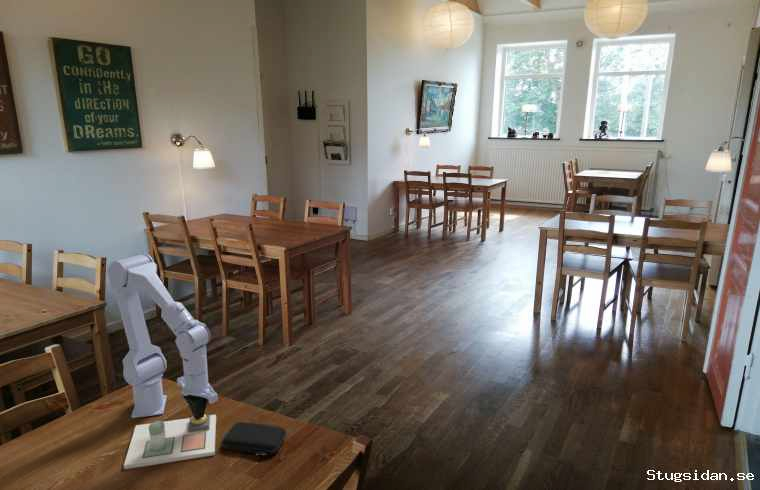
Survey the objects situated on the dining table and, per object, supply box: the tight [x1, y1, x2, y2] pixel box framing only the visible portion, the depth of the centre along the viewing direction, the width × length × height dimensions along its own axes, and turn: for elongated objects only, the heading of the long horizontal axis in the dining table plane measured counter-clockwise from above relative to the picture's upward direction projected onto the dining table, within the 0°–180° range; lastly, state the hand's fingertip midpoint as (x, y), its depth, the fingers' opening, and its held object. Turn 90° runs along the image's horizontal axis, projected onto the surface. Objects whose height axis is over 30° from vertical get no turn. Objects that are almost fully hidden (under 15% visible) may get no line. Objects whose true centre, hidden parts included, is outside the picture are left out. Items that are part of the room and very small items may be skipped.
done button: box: [191, 413, 207, 425], centre depth 130 cm, size 4×4×2 cm
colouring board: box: [123, 414, 217, 470], centre depth 125 cm, size 16×20×2 cm
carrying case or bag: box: [221, 421, 287, 457], centre depth 125 cm, size 11×3×15 cm
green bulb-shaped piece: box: [149, 420, 166, 451], centre depth 120 cm, size 4×4×6 cm
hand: (199, 417), depth 130 cm, fingers closed, pressing on done button
